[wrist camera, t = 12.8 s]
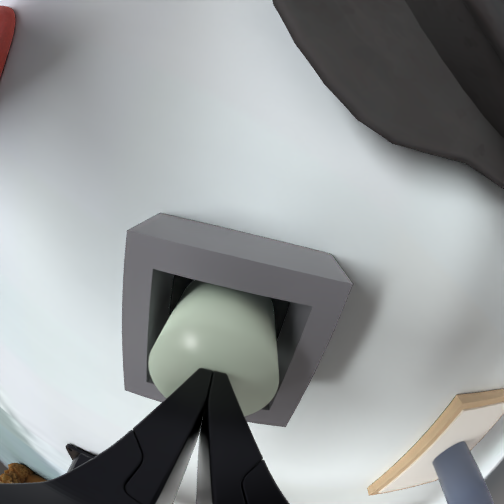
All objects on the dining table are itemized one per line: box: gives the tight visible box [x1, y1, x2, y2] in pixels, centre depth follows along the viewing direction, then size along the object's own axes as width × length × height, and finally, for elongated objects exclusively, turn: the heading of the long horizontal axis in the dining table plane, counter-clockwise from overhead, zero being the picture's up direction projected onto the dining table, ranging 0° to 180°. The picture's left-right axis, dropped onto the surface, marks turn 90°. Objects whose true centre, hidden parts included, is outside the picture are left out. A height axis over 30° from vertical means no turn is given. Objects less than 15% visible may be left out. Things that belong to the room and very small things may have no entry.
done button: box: [148, 280, 279, 416], centre depth 10 cm, size 4×4×4 cm
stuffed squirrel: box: [0, 463, 47, 483], centre depth 19 cm, size 10×14×13 cm
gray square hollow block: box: [122, 213, 353, 427], centre depth 11 cm, size 7×7×3 cm
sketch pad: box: [367, 389, 504, 495], centre depth 16 cm, size 14×10×1 cm
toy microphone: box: [432, 441, 494, 504], centre depth 9 cm, size 4×4×13 cm
